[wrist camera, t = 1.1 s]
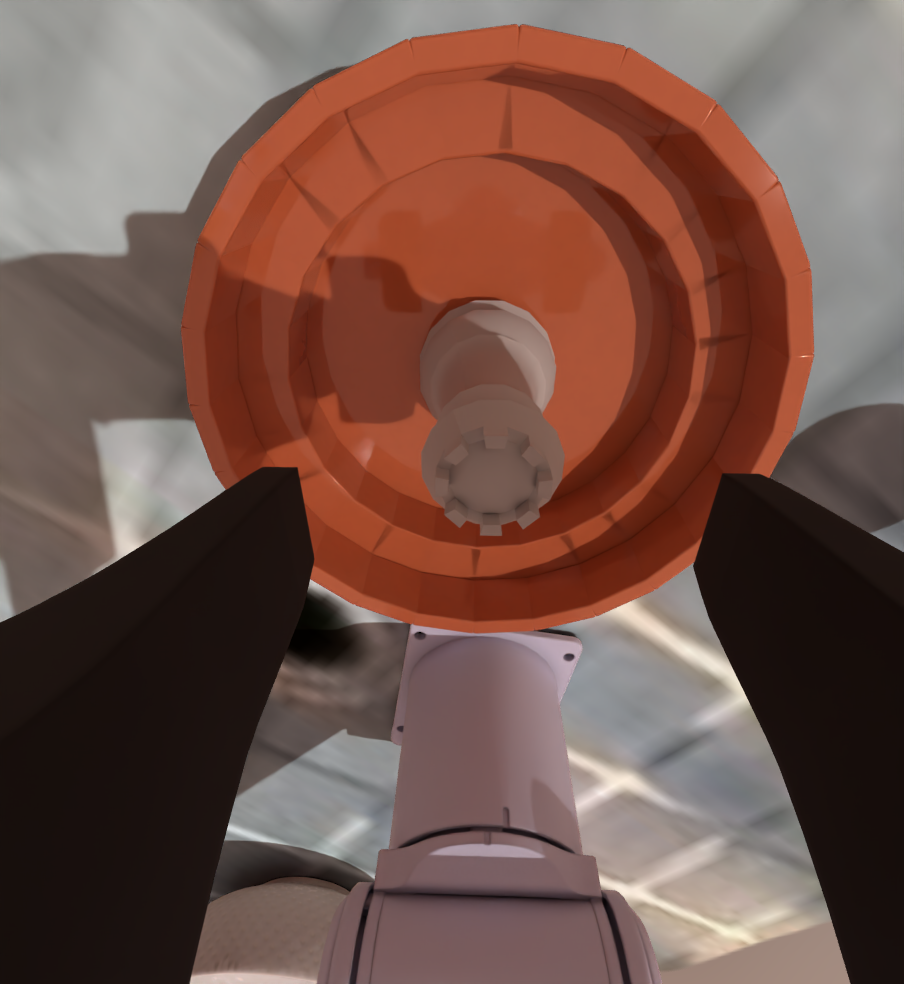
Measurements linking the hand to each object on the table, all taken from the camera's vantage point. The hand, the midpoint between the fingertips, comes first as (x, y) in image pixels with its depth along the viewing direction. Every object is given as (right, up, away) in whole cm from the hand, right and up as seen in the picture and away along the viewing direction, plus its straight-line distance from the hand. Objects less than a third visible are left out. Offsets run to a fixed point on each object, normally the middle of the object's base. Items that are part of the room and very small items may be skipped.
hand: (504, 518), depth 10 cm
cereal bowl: (-12, -30, +32) cm, 45 cm away
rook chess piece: (0, +5, +9) cm, 10 cm away
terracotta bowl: (0, +5, +9) cm, 10 cm away
